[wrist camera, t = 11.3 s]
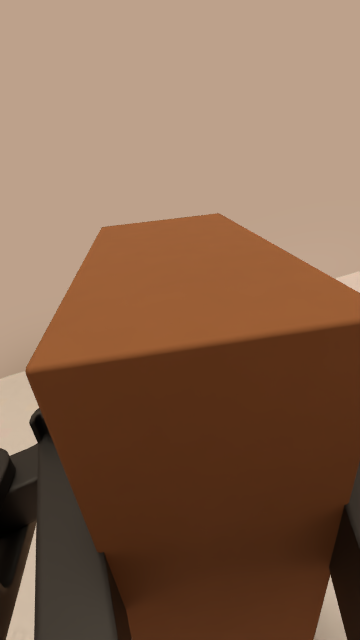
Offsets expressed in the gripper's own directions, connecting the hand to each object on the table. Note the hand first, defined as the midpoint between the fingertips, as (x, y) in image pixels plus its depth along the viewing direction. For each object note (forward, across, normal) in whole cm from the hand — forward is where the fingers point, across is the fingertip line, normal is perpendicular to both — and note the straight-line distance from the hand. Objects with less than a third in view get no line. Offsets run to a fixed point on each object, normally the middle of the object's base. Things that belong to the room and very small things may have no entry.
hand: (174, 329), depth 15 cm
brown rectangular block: (-5, 0, -7) cm, 8 cm away
